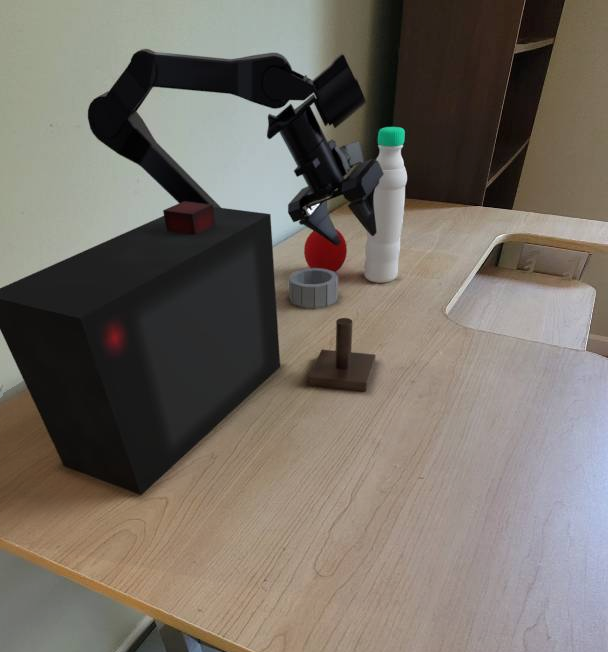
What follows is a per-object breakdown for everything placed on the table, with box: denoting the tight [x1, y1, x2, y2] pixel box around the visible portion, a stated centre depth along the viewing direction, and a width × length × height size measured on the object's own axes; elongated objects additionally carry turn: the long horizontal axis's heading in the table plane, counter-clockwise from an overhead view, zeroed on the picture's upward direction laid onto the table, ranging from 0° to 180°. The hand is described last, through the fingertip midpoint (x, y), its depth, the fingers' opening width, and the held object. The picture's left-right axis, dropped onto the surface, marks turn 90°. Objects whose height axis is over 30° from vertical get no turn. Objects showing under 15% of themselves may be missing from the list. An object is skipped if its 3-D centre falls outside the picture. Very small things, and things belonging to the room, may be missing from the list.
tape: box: [288, 267, 339, 309], centre depth 101 cm, size 9×9×4 cm
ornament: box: [303, 228, 348, 273], centre depth 108 cm, size 9×9×10 cm
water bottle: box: [363, 126, 408, 284], centre depth 100 cm, size 7×7×25 cm
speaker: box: [0, 201, 281, 496], centre depth 68 cm, size 15×35×24 cm, turn 152°
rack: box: [308, 317, 377, 392], centre depth 79 cm, size 9×9×8 cm
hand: (355, 239), depth 92 cm, fingers open, 9 cm apart
